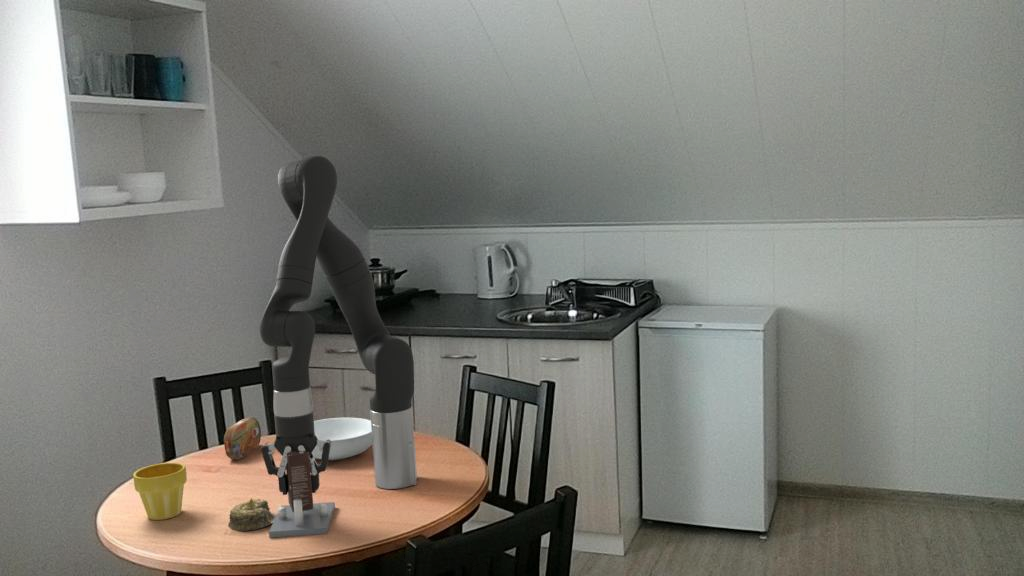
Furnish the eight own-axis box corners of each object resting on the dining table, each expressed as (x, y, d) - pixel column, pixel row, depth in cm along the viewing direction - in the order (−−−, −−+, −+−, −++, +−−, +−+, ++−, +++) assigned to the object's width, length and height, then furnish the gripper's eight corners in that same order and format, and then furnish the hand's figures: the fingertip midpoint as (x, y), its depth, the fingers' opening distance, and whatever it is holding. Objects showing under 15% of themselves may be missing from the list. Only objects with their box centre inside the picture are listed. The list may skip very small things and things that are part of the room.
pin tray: (335, 507, 195) (332, 478, 194) (326, 533, 181) (324, 503, 180) (281, 511, 194) (279, 482, 193) (269, 537, 180) (266, 507, 180)
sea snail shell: (231, 538, 183) (226, 513, 182) (226, 522, 192) (221, 497, 191) (282, 525, 186) (277, 500, 186) (275, 510, 196) (270, 485, 195)
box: (286, 503, 189) (283, 446, 188) (309, 500, 191) (306, 443, 189) (291, 513, 184) (287, 454, 182) (314, 510, 185) (311, 451, 184)
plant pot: (132, 514, 197) (127, 469, 196) (181, 501, 203) (177, 458, 202) (145, 528, 189) (140, 481, 187) (196, 515, 194) (192, 469, 193)
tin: (235, 463, 228) (232, 430, 227) (223, 463, 229) (220, 430, 228) (263, 445, 243) (260, 413, 242) (252, 444, 243) (249, 413, 242)
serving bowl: (372, 466, 221) (370, 438, 220) (284, 470, 221) (282, 442, 220) (384, 440, 242) (382, 414, 241) (304, 444, 242) (302, 418, 241)
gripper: (332, 403, 189) (338, 484, 191) (261, 407, 188) (267, 488, 190) (327, 413, 181) (333, 497, 184) (252, 417, 181) (259, 501, 183)
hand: (299, 492), depth 187 cm, fingers closed on box, 5 cm apart
